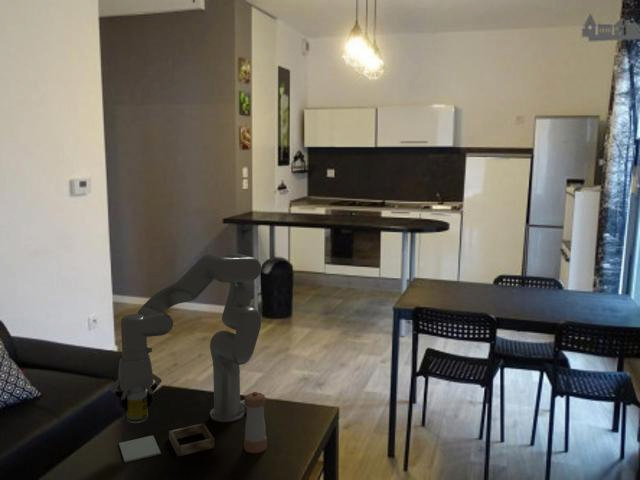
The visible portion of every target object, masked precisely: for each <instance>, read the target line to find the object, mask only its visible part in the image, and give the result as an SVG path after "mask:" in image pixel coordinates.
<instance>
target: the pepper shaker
mask: <svg viewBox="0 0 640 480" xmlns="http://www.w3.org/2000/svg"><path fill="white" fill-rule="evenodd" d="M243 400H244V403H245V405H246V406H247V407H246V419H245V420H246V421H245V427H244V433H245V434H244V435H245V436H244V438H243V439H244V441H243V442H244V444H243V445H244V447H243V448H244V450H245V451H246V452H247V453H249V454H250V453H251V454H258V453H263V452H264V451H266V450H267V449H268V448H267V446H268V441H267V439H268V437H267V435H266V432H267V431H266V427H267V426H266V423H265V411H264V410H265V409H264V405H266V401H267V399H266V396H265V395H264V394H263V393H261V392H257V391H253V392H251V393H248V394H247V395H245V397H244V399H243Z"/></svg>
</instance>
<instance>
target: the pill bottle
mask: <svg viewBox="0 0 640 480" xmlns="http://www.w3.org/2000/svg"><path fill="white" fill-rule="evenodd" d="M126 399H127V411H126V420H127V421H128V422H129V423H132V424H137V423H138V424H139V423H142V422H145V421H146V420H147V419H148V417H149V411H148V410H149V408H148V407H149V406H148V401H147V391H146V390H145V388H141V387H136V388H134V389H133V390H130V391H128V392H127V395H126Z"/></svg>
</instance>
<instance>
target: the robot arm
mask: <svg viewBox="0 0 640 480" xmlns="http://www.w3.org/2000/svg"><path fill="white" fill-rule="evenodd" d="M261 273H262V263H261V262H260V261H259V260H258V259H257V258H256V257H254V256H248V255H245V254H241V253H236V252H229V253H227V254H225V255H224V256H220V255H219V254H218V255H217V254H210V253H208V254H207V253H206V254H204V255H203V256H201V257H200V258H199V259H198V260H197V261H196V262H195V263H194V264H193V265H192V266H191V268H189V269H188V270H187V272H185V273H184V275H182V276H181V277H180V278H179V280H178V281H176V282H175V283H172V284H169V286H166V287H165V288H162V290H159V291H157V292H156V293H154V294H153V295H152V296H150V298H149V299H148V300H147V301H145V302H144V304H143V305H142V306H141V307H140V308H139V310H138V312H137V313H131V314H128V315H125V316H123V317H122V318H121V320H120V333H121V353H122V354H121V355H122V357H120V359H119V363H118V372H117V373H118V376H117V377H118V378H117V380H115V382H114V383H113V384H112V385H111V386H110V387H109V391H110V392H111V393H113V394H114V395H115V396H116V397H118V398H119V399H120V400H121V401H120V402H121V409H123V410H124V412H127V399H126V395H127V393H128V392H129V391H130V390H133V389H134V388H136V387H141V388H144V389H146V390H147V391H146V392H147V401H148V407H152V406H151V405H152V404H151V403H153V394H154V391H156V390H157V388H158V387H159V386H160V384H161V383H162V379H161V378H160V377H159V376H157V375H156V374H154V373H153V367H152V361H151V357H150V353H152V352H153V349H152V348H153V347H148V337H150V338H151V337H162V336H165V335H167V334H169V333H170V332H171V331H172V329H173V327H174V320H173V318H172V317H171V316H170V315H169V314H167V313H166V312H167V311H168V309H170V308H173V307H174V306H176V305H178V304H183V303H188V302H192V301H195V300H196V299H198V298H199V297H200V296H201V294H202V293H203V292H204V291H205V290H206V289H207V288H208V286H210V285H211V284H212V283H213V282H214V281H215V282H219V283H225V284H227V283H229V291H228V294H227V298H226V301H225V303H224V304H225V306H224V308H223V311H222V316H221V321H222V323H223V325H224V326H225V327H227V328H230V329H232V330H235V333H234V332H232V331H228V330H220V331H217V332H215V333H214V334H213V335H212V337H211V339H210V342H209V349H210V356H211V359H212V360H211V361H212V371H213V379H212V380H213V408H212V409H210V412H209V417H210V419H212V421H214V422H219V423H230V422H231V423H233V422H236V421H239V420H241V419H242V418H243V417H244V416H245V414H246V412H245V411H246V410H245V409H246V408H247V406H246V405H245V403H244V399H243V400H241V379H240V378H241V370H240V368H241V367H240V366H241V365H245V364H247V363H248V362H249V361H250V360H251V358H252V356H253V354H254V352H255V349H256V344H257V342H258V338H259V335H260V330H261V327H262V317H261V314H260V312H259V311H258V310H257V309H256V308H254V307H252V306H251V302H252V298H253V292H254V286H253V285H254V284H253V281H255V280H256V279H257V278H259V276H260V275H261ZM118 387H119V388H120V390H121V391H120V390H119V389H117V388H118Z"/></svg>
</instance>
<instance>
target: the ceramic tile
mask: <svg viewBox="0 0 640 480" xmlns="http://www.w3.org/2000/svg"><path fill="white" fill-rule="evenodd" d="M157 443H158V442H157V441H156V439H155V437H154V435H149V436H144V437H140V438H136V439H132V440H126V441H121V442H118V445H119V450H120V452H121V455H122V458H123V462H124V463H129V462H134V461H137V460H142V458H143V459H146V458H150V457H154V456H158V455H161V450H160V448H159V446H158V444H157Z"/></svg>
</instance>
